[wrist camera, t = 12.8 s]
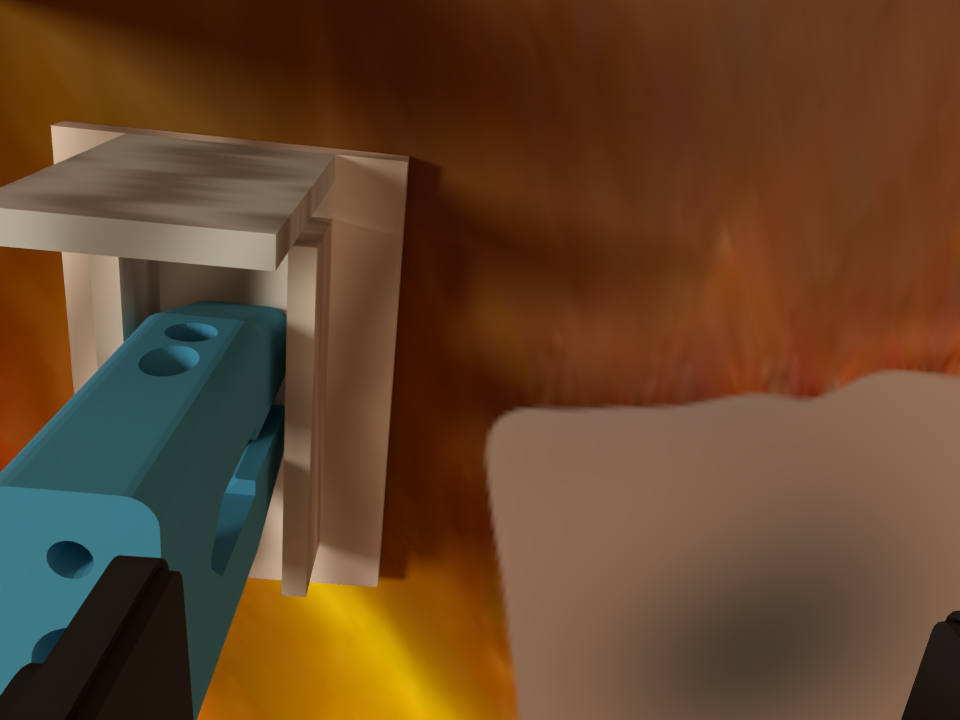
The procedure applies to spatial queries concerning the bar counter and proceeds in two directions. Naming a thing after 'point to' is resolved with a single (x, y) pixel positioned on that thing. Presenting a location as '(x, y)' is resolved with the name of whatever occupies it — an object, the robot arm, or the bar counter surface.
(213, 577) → the block
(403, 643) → the bar counter surface
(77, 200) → the book stand
